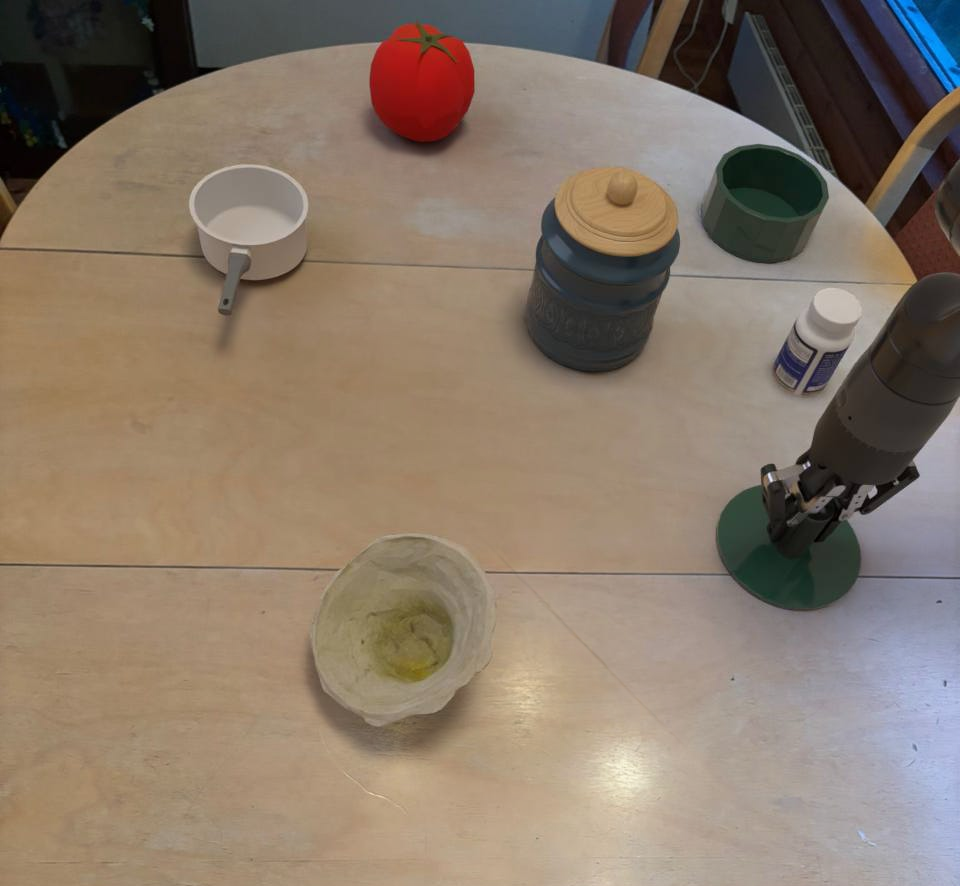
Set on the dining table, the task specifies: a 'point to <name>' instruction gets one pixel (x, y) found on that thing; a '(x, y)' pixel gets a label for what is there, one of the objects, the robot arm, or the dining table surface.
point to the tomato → (421, 82)
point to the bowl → (403, 627)
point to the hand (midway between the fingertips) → (795, 535)
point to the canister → (601, 267)
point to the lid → (787, 555)
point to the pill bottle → (817, 342)
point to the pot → (763, 203)
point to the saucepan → (249, 224)
